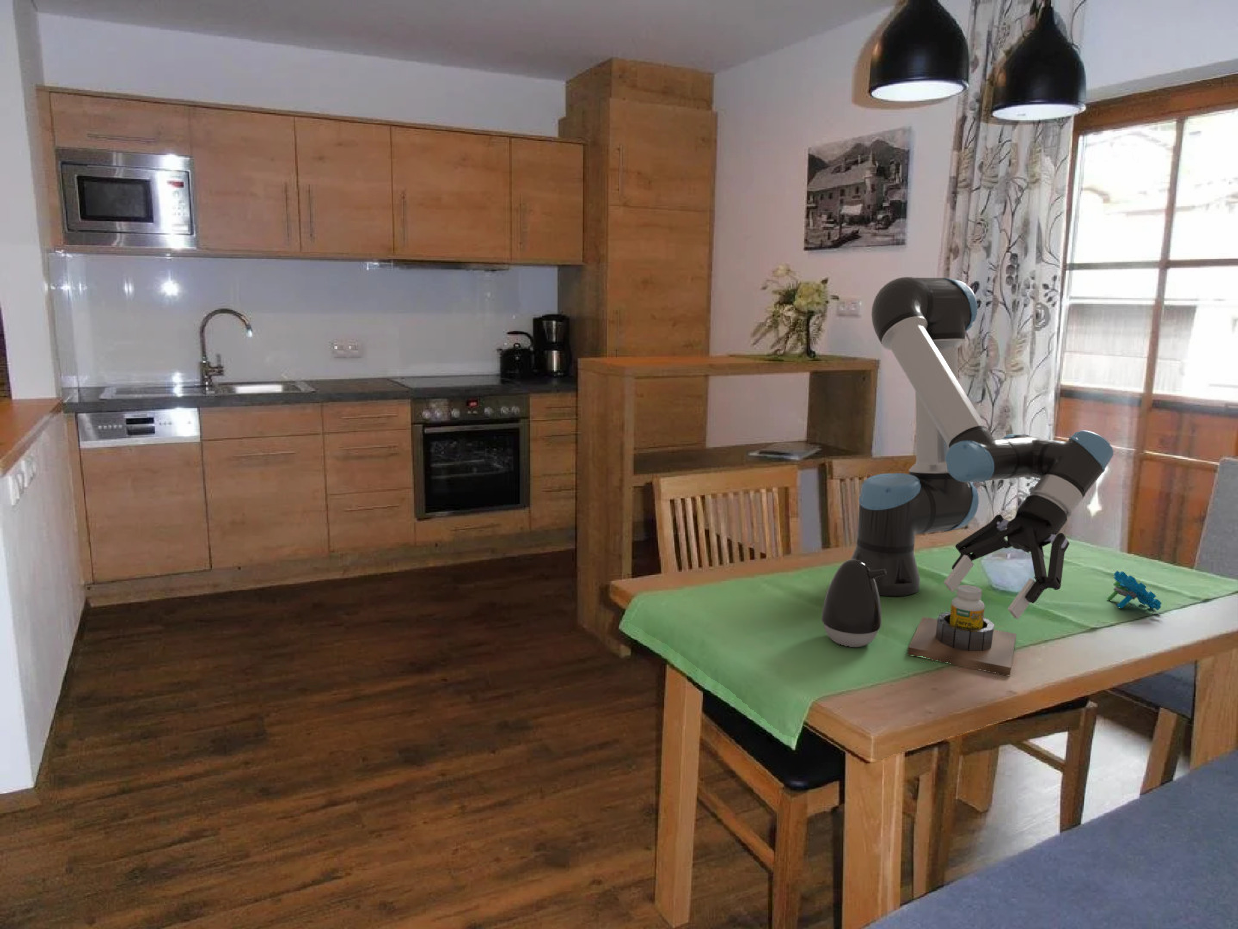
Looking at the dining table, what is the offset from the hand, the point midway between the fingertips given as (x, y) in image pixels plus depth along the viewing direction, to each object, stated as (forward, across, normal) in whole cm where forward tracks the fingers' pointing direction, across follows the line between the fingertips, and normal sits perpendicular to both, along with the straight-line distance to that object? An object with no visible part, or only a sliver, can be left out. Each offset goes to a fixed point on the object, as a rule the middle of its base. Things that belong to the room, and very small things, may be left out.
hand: (979, 600), depth 145 cm
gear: (-26, +2, -40) cm, 48 cm away
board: (+8, +1, -5) cm, 9 cm away
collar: (+6, +1, -4) cm, 8 cm away
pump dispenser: (+19, +11, +6) cm, 23 cm away
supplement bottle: (+7, +1, -4) cm, 8 cm away
